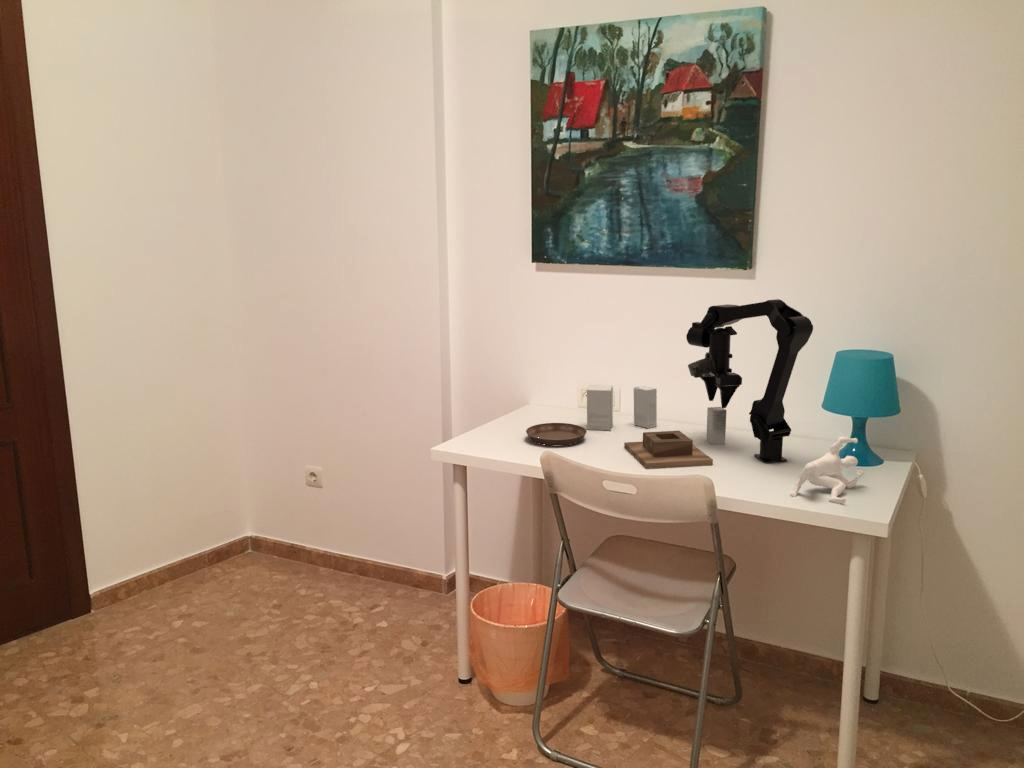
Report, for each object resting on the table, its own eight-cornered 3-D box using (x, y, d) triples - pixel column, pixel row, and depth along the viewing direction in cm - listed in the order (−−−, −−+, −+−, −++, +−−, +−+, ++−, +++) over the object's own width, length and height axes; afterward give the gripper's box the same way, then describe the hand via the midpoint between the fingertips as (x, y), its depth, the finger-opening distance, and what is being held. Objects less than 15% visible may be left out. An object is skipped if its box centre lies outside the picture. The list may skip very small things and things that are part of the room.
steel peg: (725, 444, 238) (726, 410, 236) (711, 445, 237) (712, 410, 235) (719, 440, 242) (720, 406, 240) (706, 441, 241) (707, 407, 239)
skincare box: (657, 426, 258) (658, 388, 255) (647, 429, 255) (648, 390, 252) (642, 422, 262) (643, 385, 260) (632, 425, 259) (633, 387, 257)
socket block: (712, 465, 219) (713, 444, 217) (646, 468, 216) (646, 448, 215) (685, 444, 238) (686, 425, 237) (624, 447, 235) (624, 428, 234)
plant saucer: (573, 451, 233) (574, 441, 232) (516, 444, 240) (516, 434, 240) (595, 436, 249) (595, 426, 248) (540, 430, 256) (540, 420, 255)
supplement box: (613, 425, 260) (613, 385, 258) (610, 431, 253) (611, 390, 250) (589, 423, 262) (589, 384, 259) (586, 429, 255) (586, 389, 252)
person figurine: (838, 461, 185) (856, 429, 199) (781, 464, 193) (802, 433, 207) (850, 514, 188) (867, 479, 202) (793, 514, 196) (813, 481, 209)
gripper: (680, 345, 242) (678, 398, 245) (704, 356, 224) (702, 413, 227) (716, 344, 243) (714, 396, 246) (744, 354, 225) (741, 411, 228)
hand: (717, 404), depth 237 cm, fingers open, 9 cm apart
